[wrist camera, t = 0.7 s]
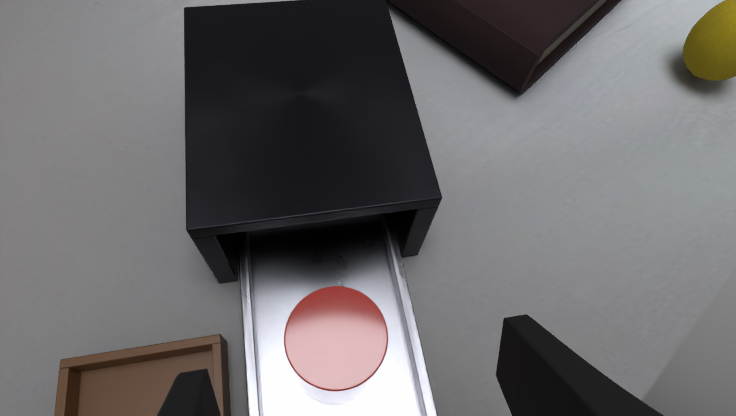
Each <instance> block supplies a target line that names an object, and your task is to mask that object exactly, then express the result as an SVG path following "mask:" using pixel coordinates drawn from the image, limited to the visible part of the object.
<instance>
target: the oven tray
mask: <svg viewBox="0 0 736 416" xmlns="http://www.w3.org/2000/svg"><path fill="white" fill-rule="evenodd" d="M237 241H238V257H239V273H240V288H241V304H242V320H243V336H244V352H245V368H246V384H247V400H248V416H437V412H436V408H435V403H434V399H433V394H432V390H431V386H430V381H429V377H428V372H427V368H426V364H425V359H424V355H423V350H422V346H421V342H420V337H419V333H418V328H417V324H416V320H415V315H414V311H413V306H412V302H411V298H410V293H409V289H408V284H407V280H406V276H405V271H404V267H403V262H402V258H401V254H400V249H399V245H398V240H397V236H396V232H395V227H394V223H393V218H392V214H391V212H390V213H383V214H375V215H367V216H359V217H352V218H344V219H336V220H329V221H321V222H313V223H306V224H298V225H290V226H283V227H275V228H267V229H259V230H252V231H244V232H237ZM331 286H343V287H349V288H352V289H355V290H357V291H360V292H362V293H363V294H365V295H366V296H368V297H369V298H370V299H371V300H372V301H373V302H374V303H375V304H376V305H377V306H378V308H379V309H380V311H381V312H382V314H383V316H384V319H385V321H386V325H387V330H388V346H387V351H386V355H385V357H384V360H383V362H382V364H381V366H380V368H379V369H378V371H377V373H376V375H375V377H374V379H373V380H372V382H371V384H370V386H369V387H368V388H367V390H366V391H365V392H364V393H363V394H361V395H360V396H359V397H357V398H356V399H354V400H352V401H350V402H347V403H343V404H337V405H331V404H324V403H321V402H318V401H316V400H314V399H312V398H311V397H309V396H308V395H307V394H306V393H305V392H304V391H303V390H302V389H301V388H300V386H299V384H298V383H297V381H296V379H295V376H294V374H293V371H292V369H291V366H290V364H289V361H288V359H287V356H286V353H285V347H284V331H285V327H286V323H287V320H288V318H289V316H290V314H291V312H292V310H293V309H294V308H295V306H296V305H297V304H298V303H299V302H300V301H301V300H302V299H303V298H304V297H306V296H307V295H309V294H310V293H312V292H314V291H316V290H318V289H321V288H325V287H331Z"/></svg>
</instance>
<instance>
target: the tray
mask: <svg viewBox="0 0 736 416" xmlns="http://www.w3.org/2000/svg"><path fill="white" fill-rule="evenodd" d="M206 368H207V369H208V373H209V376H210V379H211V383H212V386H213V390H214V393H215V397H216V400H217V404H218V407H219V410H220V414H221V416H230V396H229V375H228V354H227V341H226V340H225V339H224V338H223V337H222V336H221V334H218V335H212V336H205V337H199V338H193V339H187V340H180V341H174V342H168V343H161V344H155V345H149V346H143V347H136V348H130V349H124V350H118V351H111V352H105V353H99V354H92V355H86V356H80V357H74V358H67V359H62V360H60V369H59V377H58V387H57V396H56V405H55V415H54V416H157V414H158V412H159V410H160V408H161V406H162V405H163V403H164V401H165V399H166V396H167V394H168V392H169V390H170V388H171V386H172V384H173V382H174V380H175V378H176V376H177V375H178V374H179V373H182V372H188V371H194V370H200V369H206Z"/></svg>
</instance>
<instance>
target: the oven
mask: <svg viewBox="0 0 736 416" xmlns="http://www.w3.org/2000/svg"><path fill="white" fill-rule="evenodd" d="M184 57H185V152H186V230H187V232H188V234H189V235H190V237H191V238H192V240H193V242H194V243H195V245H196V246H197V248H198V250H199V251H200V253H201V255H202V256H203V258H204V259H205V261H206V263H207V264H208V266H209V268H210V269H211V271H212V272H213V274H214V276H215V277H216V279H217V281H218V282H219V283H223V282H230V281H236V280H237V279H238V278H237V262H236V245H235V233H236V232H244V231H252V230H259V229H267V228H275V227H283V226H290V225H298V224H306V223H313V222H321V221H329V220H336V219H344V218H352V217H359V216H367V215H375V214H383V213H390V212H391V214H392V218H393V223H394V227H395V232H396V236H397V240H398V245H399V249H400V254H401V257H404V256H411V255H417V254H418V253H419V250H420V248H421V246H422V244H423V241H424V239H425V237H426V234H427V232H428V230H429V227H430V225H431V223H432V220H433V218H434V216H435V213H436V211H437V209H438V206H439V204H440V202H441V199H442V195H441V192H440V188H439V185H438V181H437V178H436V174H435V171H434V167H433V164H432V160H431V157H430V153H429V150H428V146H427V143H426V139H425V136H424V132H423V129H422V125H421V122H420V118H419V115H418V111H417V108H416V104H415V101H414V97H413V94H412V90H411V87H410V83H409V80H408V76H407V73H406V69H405V66H404V62H403V59H402V55H401V52H400V48H399V45H398V41H397V38H396V34H395V31H394V27H393V24H392V20H391V17H390V13H389V10H388V6H387V3H386V0H296V1H280V2H264V3H248V4H231V5H215V6H199V7H185V8H184Z"/></svg>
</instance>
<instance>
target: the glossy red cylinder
mask: <svg viewBox="0 0 736 416" xmlns="http://www.w3.org/2000/svg"><path fill="white" fill-rule="evenodd" d="M387 346H388V330H387V325H386V321H385V319H384V316H383V314H382V312H381V311H380V309H379V308H378V306H377V305H376V304H375V303H374V302H373V301H372V300H371V299H370V298H369V297H368V296H366V295H365V294H363V293H362V292H360V291H357V290H355V289H352V288H349V287H343V286H331V287H325V288H321V289H318V290H316V291H314V292H312V293H310V294H309V295H307V296H306V297H304V298H303V299H302V300H301V301H300V302H299V303H298V304H297V305H296V306H295V308H294V309H293V310H292V312H291V314H290V316H289V318H288V320H287V323H286V327H285V331H284V347H285V353H286V356H287V359H288V361H289V364H290V366H291V369H292V371H293V374H294V376H295V379H296V381H297V383H298V384H299V386H300V388H301V389H302V390H303V391H304V392H305V393H306V394H307V395H308V396H309V397H311V398H312V399H314V400H316V401H318V402H321V403H324V404H331V405H337V404H343V403H347V402H350V401H352V400H354V399H356V398H357V397H359V396H360V395H361V394H363V393H364V392H365V391H366V390H367V388H368V387H369V386H370V384H371V382H372V380H373V379H374V377H375V375H376V373H377V371H378V369H379V368H380V366H381V364H382V362H383V360H384V357H385V355H386V351H387Z"/></svg>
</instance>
